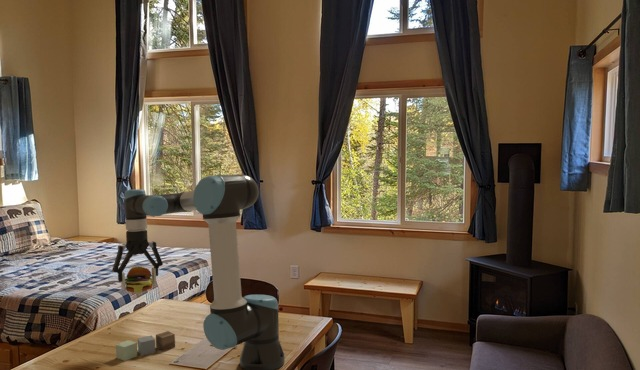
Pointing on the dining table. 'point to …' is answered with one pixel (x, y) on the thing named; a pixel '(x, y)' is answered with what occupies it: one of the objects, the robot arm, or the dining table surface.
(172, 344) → the walnut block
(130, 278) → the cheeseburger
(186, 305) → the dining table surface
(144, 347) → the slate block
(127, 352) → the sage block
